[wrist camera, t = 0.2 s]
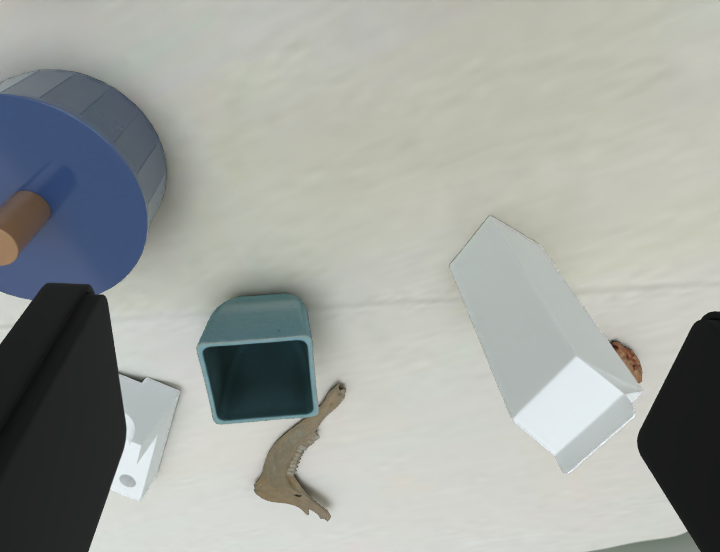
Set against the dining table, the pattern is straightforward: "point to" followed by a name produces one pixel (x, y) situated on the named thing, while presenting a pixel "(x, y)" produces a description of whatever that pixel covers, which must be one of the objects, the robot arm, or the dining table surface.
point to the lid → (64, 200)
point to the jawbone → (295, 460)
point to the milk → (543, 345)
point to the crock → (103, 120)
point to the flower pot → (259, 360)
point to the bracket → (143, 434)
